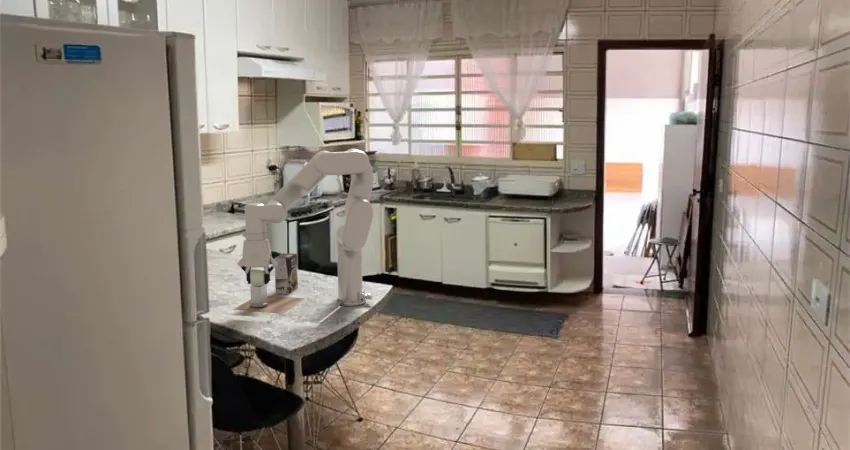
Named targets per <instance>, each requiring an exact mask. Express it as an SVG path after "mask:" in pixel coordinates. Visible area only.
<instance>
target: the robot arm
mask: <svg viewBox="0 0 850 450" xmlns="http://www.w3.org/2000/svg"><path fill="white" fill-rule="evenodd" d="M373 170H374V169H373V167H372V165H371V163H370V158H369V156H368V154H367V153H366V152H365V151H363V150H360V149H358V148H349V149H347V150H346V151H335V152H334V151H332V152H331V151H328V150H320V151H318V152H317V153H316V154H314V156H313V157H312V158H311V159H309V160H308V161H307V163H306V164H305V165H304V166H303V167H302V168H301V169H300V170H299V171H298V172H297V173H296V174H295V175H294V176H293V177H292V178H291V179H289V181H288V182H287V183H286V184H284V185H283V186H282V187H281V188H280V189H279V190H278V191H277V192H276V193H275V194H274V195H273V197H271V198H270V200H269V201H268V202H267V203H266V204H264V203H262V202H252V203H247V204H246V205H245V206H244V221H245V223H244V224H245V225H244V226H245V232H242V234H241V236H242V237H244V238H245V239H244V240H243V245H242V255H241V256H242V257H241V259H239V260H238V262H237V264H236V265H237V266H238V267H240V268H241V270H242V271H243V272H244V273H245V276H246V282H247V284H249V285H251V284H250V271H251V270H252V269H253V268H264V270H265V274H264V279H265V284H266V285H268V284H269V283H270V282H271V272H272V271H273V270H275V267H276V266H277V265H278V263H277V262H276V261H275V258H273V256H272V249H271V244H270V240H269V239H268V238H267V236H268V235H267V233H268V232H267V223H269V224H280V223H283V222H285V221H286V219H288V218H287V217H288V210H289V209H290V208H291V207H292V206H293V205H294V204H295V203H296V202H297V201H298V200H300V199H301V198H303V197H305V196H307V195H310V194H311V193H312V192H313V191H314V190H315V189H316V188H317V187H318V185H319V184H321V182H322V181H323V180H324V179H325V178H326V177H327V176H343V175H345V176H346V175H350V185H349V189H348V194H347V198H346V199H345V200H346V201H345V205H344V207H343V208H344V213H345V215H346V220H345V222H343V223H342V224H340V225H339V226H338V228H337V229H336V232H335V233H336V234H335V241H336V255H337V292H338V293H337V296H338V297H337V298H338V300H339V301H341V303H340V304H339V306H345V307H354V306H360V305H364V304H365V303H366V302H367V300H368V301H370V300H373V294H372V293H367V292H365V289H364V288H363V252H362V251H363V250H362V249H363V248H364V247H365V245H366V244H367V240H368V237H369V234H370V233H369V232H370V229H371V226H372V221H373V217H374V209H373V205H372V204H371V202H370V200H371V196H372V192H373V191H372V190H373V186H374V179H375V178H374V177H375V176H374V171H373ZM271 264H272V265H271ZM270 265H271V266H270Z"/></svg>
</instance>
